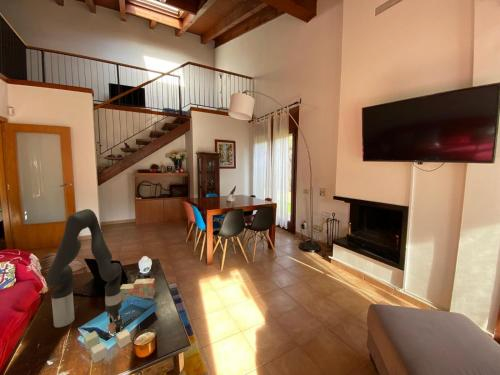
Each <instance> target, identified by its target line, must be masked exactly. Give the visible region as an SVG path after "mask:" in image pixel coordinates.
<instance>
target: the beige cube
mask: <svg viewBox="0 0 500 375" xmlns="http://www.w3.org/2000/svg"><path fill="white" fill-rule="evenodd" d="M107 353H108V352H107V346H106V344H105V343H104V341H101V342H99V344H97V345H96V346H94V347H92V348H91V349H90V358H91V359H92V362H93V363H94V364H96V363H98V362H100V361H101V360H103V359H105V358H107V356H108V355H107Z"/></svg>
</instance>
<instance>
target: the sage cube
mask: <svg viewBox="0 0 500 375" xmlns="http://www.w3.org/2000/svg"><path fill="white" fill-rule="evenodd" d="M99 339H100V335H99V334H98V332H97V331H96V330H93V331H92V332H90V333H88V334H85V335H84V336H83V346H84V348H85V349H86V350H87V351H89V350H91V348H92V347H94V346H96V345H97V344H98V340H99ZM99 341H100V340H99Z"/></svg>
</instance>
